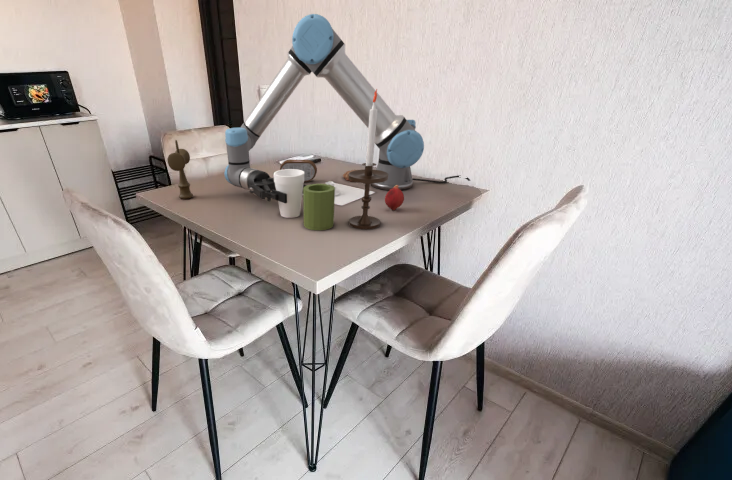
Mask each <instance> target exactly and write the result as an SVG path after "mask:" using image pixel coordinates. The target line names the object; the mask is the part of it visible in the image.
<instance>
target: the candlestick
mask: <svg viewBox="0 0 732 480" xmlns="http://www.w3.org/2000/svg"><path fill="white" fill-rule="evenodd" d="M375 90H376V91H375V92H374V95H375V96H374V99H373V102H375V101H376V99H377V93H378V88H375ZM376 120H377V109H376V106H375V103H373V106H372V109H370V115H369V128H368V127H367V141H366V142H367V143H366V156H365V162H363V163H361V166H364V168H363V169H354V170H355V171H352V172H350V173H349V177H348V178H349V180H351V181H350V182H355V183H358V184H359V183H360V184H364V190H365V192H364V196H363V197H362V198H360V200H361V202H362V203H363V204H362V205H361V207H360V208H361V209H362V215H356V216H352V217H350V218H349V219H348V225H349V226H350V227H351V228H354V229H357V230H366V231H367V230H374V229H377V228H379V227H380V225H381V220H380V219H379V218H378V217H375V216H371V215H369V214H368V211H369V209H371V206H370V205H369V204H370V202H371V201H372V197H371V196H370V195H369V191H371V189H370V188H371V185H372V183H380V182H384V181H386V180H388V173H386V172H384V171H380V170H376V169H373V168H374V167H375V166H378V163H374V153H375V131H376Z"/></svg>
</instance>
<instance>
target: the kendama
mask: <svg viewBox="0 0 732 480" xmlns="http://www.w3.org/2000/svg"><path fill="white" fill-rule="evenodd" d="M174 144H175V151H174V152H172V153H170V154H168V156H167V165H168V167H169V168H170V169H171V170H173V171H174V172H175V171H176V172H178V175H179V180H178V184H177V187H178V188H179V195H178V198H179V199H182V200H187V199H191V198H194V194H193V192H192V191H191V188H190V186H191V183H190V182H189V181H188V178H187V175H186V173H185V170H184V169H185V167H186V165H187V164H189V163H190V160H191V155H190V152H189V151H188V150H187V149H184V148H180V147H179V143H178V140H177V139H175V143H174Z"/></svg>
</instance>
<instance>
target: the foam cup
mask: <svg viewBox="0 0 732 480" xmlns="http://www.w3.org/2000/svg"><path fill="white" fill-rule="evenodd" d="M273 178H274V182H275V187H276V190H277V191H280V192H283V193H286V194H287V203H283V202H280V201H277V203H278V204H277V205H278V208H279V209H278V210H279V214H280V216H281V217H282V218H287V219H292V218H297V217H299V216H301V209H302V203H303V202H302V201H303V195H302V193H303V184H304V183H305V182H304V171H302V170H297V169H284V170H280V169H278V170H275V171H274V172H273ZM304 185H305V184H304Z"/></svg>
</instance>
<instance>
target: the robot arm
mask: <svg viewBox="0 0 732 480" xmlns="http://www.w3.org/2000/svg"><path fill="white" fill-rule="evenodd" d="M291 43H292V45H291V48H290V49H289V50H288V52H287V59H286V61H285V62H284V64H283V65H282V67H280V70H279V71H278V72H277V74H276V75H275V77H274V78H273V79H272V81H271V82H270V84H269V85H268V87H267V88H266V90H265V91H264V92H263V94H262V96H260V99H259V100H258V101H257V103H255V106H254V107H253V108H252V110H251V112H249V115H248V116H247V117H246V119H245V120H244V122H243V123H242V124H241V125H240V127H231V128H230V127H229V128H226V129H225V132H224V134H225V135H224V136H225V145H226V154H227V162H228V164H227V165H226V167H225V170H224V175H223V176H224V179H225V180H226V182H227V183H229V184H231V185H232V186H233V187H238V188H241V189H244V190H247V191H249V193H251V194H254V195H255V197H257V198H259V199H261V200H265V199H266V200H267V202H271V201H272V200H274V201H277V202H278V201H280V202H283V203H287V194H286V193H283V192H280V191H277V190H276V187H275V182H274V177H271V176H270V174H268V172H266V171H264V170H260V169H258V168H253V167H251V163H250V161H251V160H250V151H251V150H252V149H253V148H254V146H255V145H256V144H257V142H258V141H259V139H260V137H262V135H263V134H264V132H265V131H266V130H267V128H268V127H269V126H270V124H271V122H272V121H273V120H274V118H275V117H276V116H277V114H278V113H279V111H280V110H281V109H282V107H283V106H284V105H285V104H286V102H287V101H288V99H289V98H290V97H291V95H292V94H293V93H294V91H295V90H296V89H297V87H298V86H299V84H300V83H301V82H302V80H304V77H305V76H310V75H311V73H313V74H314V76H315V77H316V78H323V79H325V80H326V81H327V83H328V84H329V85H330V86H331V87H332V88H333V90H334V91H335V92H336V93H337V94H338V95H339V96H340V98H341V99H342V100H343V101H344V102H345V103H346V105H347V106H348V108H350V109H351V110H352V112H353V113H354V114H355V115H356V116H357V118H359V119H360V121H361V122H362V123H363V124H364V126H366V128H367V129H368V128H369V115H370V109H372V106H373V103H375V106H376V109H377V120H376V131H375V143H374V145H375V146H376V147H377V148H378V162H377V165H376V168H375V170H380V171H384V172H386V173H388V180H386V181H384V182H380V183H372V184H371V186H372V187H373V188H376V189H378V190H383V191H389V190H390V189H392V188H394V186H395V185H398V186H399V187H398V188H399V189H400V190H401V191H405V190H408V189H410V188H412V187H413V182H414V181H416V182H427V183H433V184H434V183H436V184H446V183H447V182H448V180H450V179H457V178H460V177H459V176H460V175H451V176H447V177H445V178H444V179H443V180H441V181H440V180H433V179H424V178H416V177H415V178H414V177H413V175H412V169H411V167H412V166H414V165H415V164H417V162H418V161H419V160H420V159H421V158H422V156H423V153H424V151H425V143H424V139H423V136H422V134H421V133H420V132H418V131H417V130H416V128H417V125H416V123H417V122H416V120H415V119H406V117H405V116H404V115H403V114H395V112H394V111H393V109H392V108H391V107H390V106H389V105H388V103H387V102H386V101H385V100H384V99H383V98H382V97H381V95H380V94H379V92H377V99H376V101H375V102H373V99H374V96H375V95H374V92H375V91H376V88H374V87H373V86H372V84H371V83H370V82H369V81H368V79H367V78H366V77H365V76H364V74H363V73H362V72H361V70H359V69H358V67H357V66H356V65H355V63H354V62H353V61H352V60H351V58H350V57H349V56H348V55H347V54H346V44H345V42H344V41H343V40H342V39H341V37H340V36H339V34H337V32H336V31H335V30H334V29H333V27H332V25H331V23H330V21H329V20H328V19H327V18H326V17H324V16H323V15H320V14H318V13H310V14H307V15H305V16H304V17H302V18H301V19H300V20H299V21H298V22H297V24H296V25H295V27H294V30H293V32H292V37H291ZM464 179H466V181H468V182H471V179H470V178H469V177H467V178H464ZM307 185H308V184H303V188H304V187H305V186H307ZM302 194H303V193H302Z"/></svg>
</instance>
